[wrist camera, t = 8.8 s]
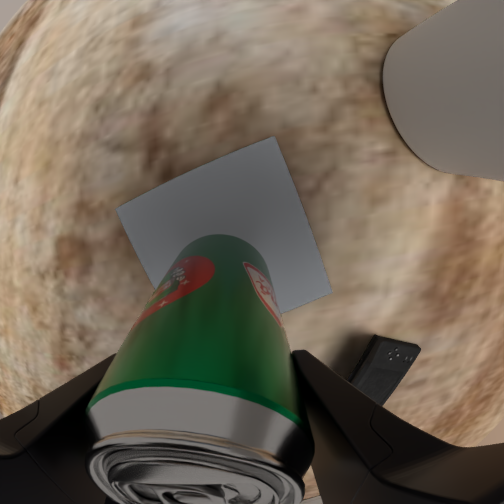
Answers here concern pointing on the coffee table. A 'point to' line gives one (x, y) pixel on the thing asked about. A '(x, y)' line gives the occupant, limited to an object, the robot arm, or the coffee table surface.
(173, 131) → the coffee table surface
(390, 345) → the handheld gaming console
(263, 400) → the soda can
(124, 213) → the slate mat
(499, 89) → the cylinder vase
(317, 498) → the small box
